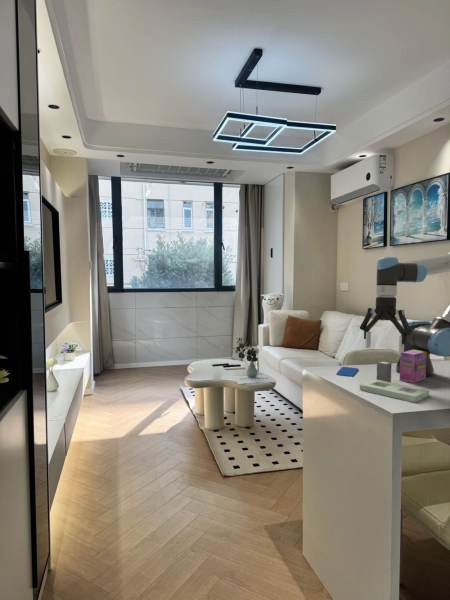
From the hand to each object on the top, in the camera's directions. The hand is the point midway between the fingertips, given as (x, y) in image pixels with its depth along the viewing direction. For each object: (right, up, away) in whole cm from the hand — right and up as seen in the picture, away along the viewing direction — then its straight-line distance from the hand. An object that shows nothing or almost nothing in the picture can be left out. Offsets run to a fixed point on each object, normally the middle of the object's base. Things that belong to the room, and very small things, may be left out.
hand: (384, 350), depth 156 cm
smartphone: (-9, -13, +18) cm, 24 cm away
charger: (0, -13, +1) cm, 13 cm away
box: (+14, -13, +5) cm, 20 cm away
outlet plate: (-2, -14, -13) cm, 19 cm away
